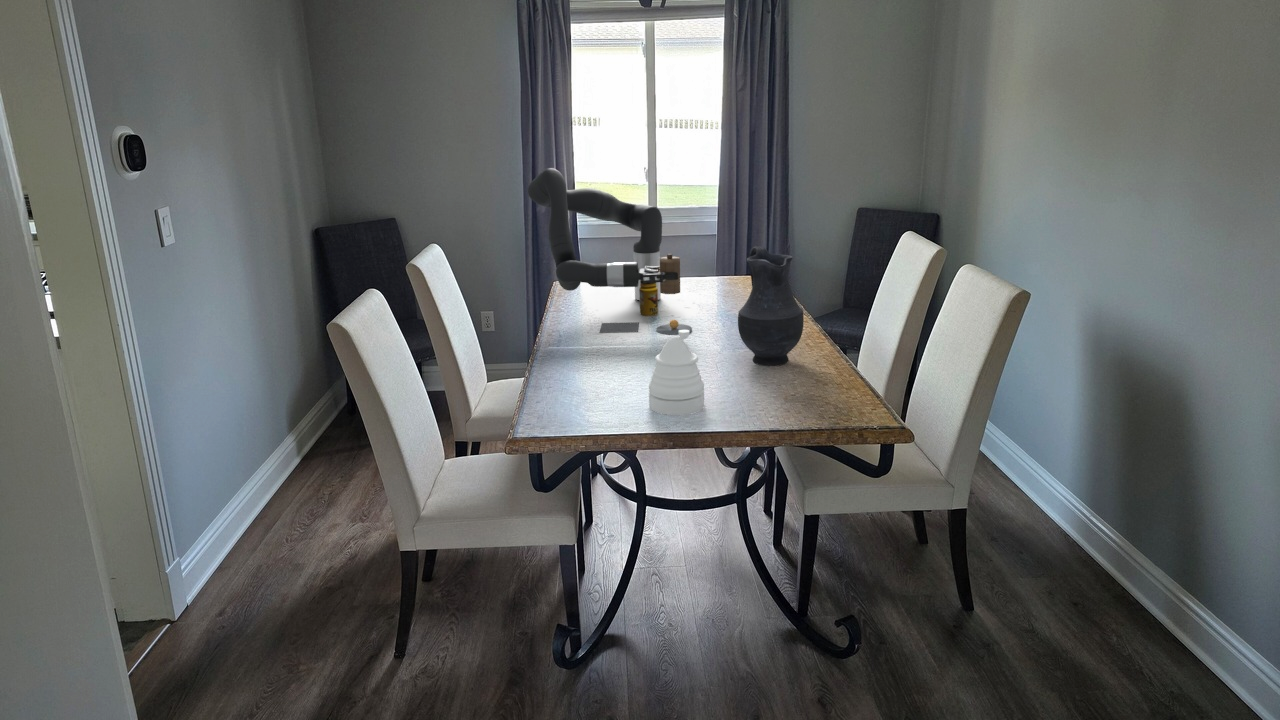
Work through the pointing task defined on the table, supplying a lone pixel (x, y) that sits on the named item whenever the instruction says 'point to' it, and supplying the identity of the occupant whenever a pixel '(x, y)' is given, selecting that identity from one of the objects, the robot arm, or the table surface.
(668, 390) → the honey pot
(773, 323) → the pitcher
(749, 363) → the table surface
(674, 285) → the canister
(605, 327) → the mat
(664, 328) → the grey round disc
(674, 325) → the ball
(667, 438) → the table surface
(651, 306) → the condiment
